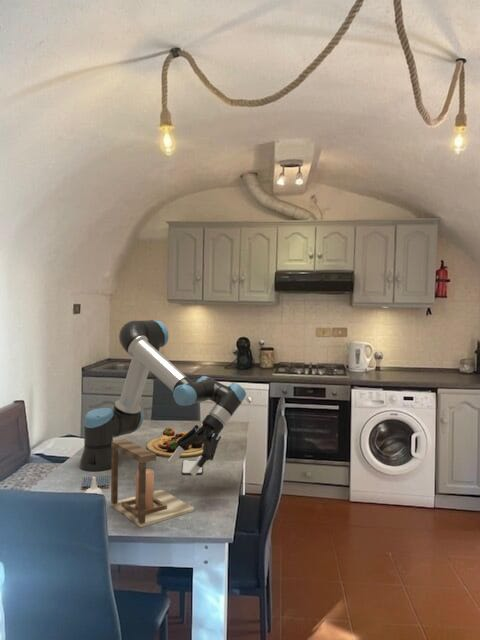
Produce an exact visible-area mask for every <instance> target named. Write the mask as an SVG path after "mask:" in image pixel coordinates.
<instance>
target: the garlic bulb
mask: <svg viewBox="0 0 480 640" xmlns="http://www.w3.org/2000/svg"><path fill="white" fill-rule="evenodd" d="M96 477H97V476H92V477H91V478H92V484H91V487H90V488H88V489H87V490H84V493H97V494H103V495H104V493H103V491H102V490H103V489H100V488H98V487H97V484H96Z"/></svg>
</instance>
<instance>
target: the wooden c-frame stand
mask: <svg viewBox="0 0 480 640" xmlns="http://www.w3.org/2000/svg"><path fill="white" fill-rule="evenodd" d="M111 447H112V467H111V469H110V470H111V479H110V485H111V486H110V487H111V488H110V489H111V491H110V495H111V496H110V506H111V507H112V508H114V510H116V511H118V512H119V513H121V514H122V515H123V516H124V517H126V518H127V519H128V520H130V521H132V522H133V523H135V525H137V526H138V527H140V528H143V527H147V526H150V525H153V524H157V523H159V522H164V521H166V520H169V519H173V518H176V517H179V516H183V515H186V514H189V513H192V512H195V507H193V506H191V505H190V504H188V503H186V502H185V501H183V500H181V499H179V498H178V497H176V496H174V495H172V494H170V493H169V492H167V491H165V490H163V489H157V490H154V507H153V508H151V509H147V510H145V493H146V469H147V463H150V462H155V461H157V456H156V454H155V453H153V452H151V451H149V450H147V448H144V447H142V446H140V445H138V444H136V443H134V442H132V441H130V440H128V439H126V438H125V439H119V440H113V441H112V445H111ZM119 453H121V454H123V455H125V456H127V457H129V458H131V459H132V460H134V461H136V462H138V470H139V484H138V510H136V509H135V496H131V497H127V498H123V499H119V498H118V496H119V495H118V493H119V492H118V490H119V489H118V488H119V486H118V485H119Z"/></svg>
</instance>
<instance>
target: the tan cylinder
mask: <svg viewBox="0 0 480 640" xmlns="http://www.w3.org/2000/svg"><path fill="white" fill-rule="evenodd" d="M138 484H139V469H137V470H136V471H135V494H134V495H135V509H136V510H138ZM154 491H155V471H154V470H153V469H151V468H146V493H145V510H147V509H151V508H153V507H154Z"/></svg>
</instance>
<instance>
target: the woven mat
mask: <svg viewBox="0 0 480 640" xmlns="http://www.w3.org/2000/svg"><path fill="white" fill-rule="evenodd" d="M95 477H96V484H97V487H98V488H100V489H101V490H105V489H106V490H107V489H109V488H110V485H111V479H110V476H107V475H105V476H102V475H101V476H95ZM91 484H92V477H90V476H87V477H83V478H82V480H81V486H80V490H81V491H86V490H87V489H89V488H90V487H91Z"/></svg>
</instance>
